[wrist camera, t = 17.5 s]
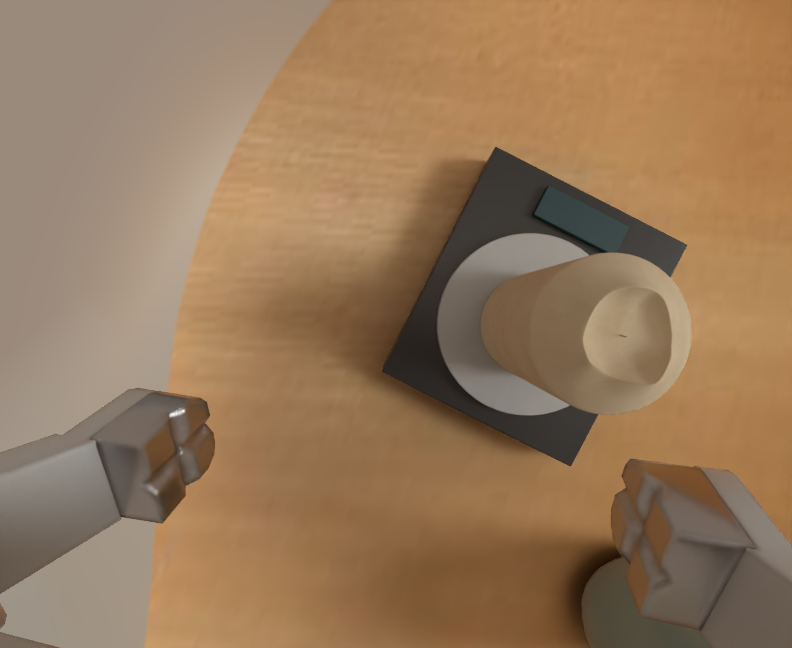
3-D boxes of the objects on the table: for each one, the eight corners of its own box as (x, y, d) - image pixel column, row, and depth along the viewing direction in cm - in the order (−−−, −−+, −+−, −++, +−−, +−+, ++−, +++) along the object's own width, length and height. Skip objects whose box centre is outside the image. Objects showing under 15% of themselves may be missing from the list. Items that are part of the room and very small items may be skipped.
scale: (383, 366, 25) (381, 373, 22) (487, 161, 25) (498, 142, 22) (555, 453, 25) (575, 470, 23) (662, 250, 25) (695, 243, 22)
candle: (592, 357, 22) (749, 396, 12) (495, 388, 22) (574, 450, 12) (563, 261, 22) (698, 221, 12) (466, 292, 22) (522, 277, 12)
